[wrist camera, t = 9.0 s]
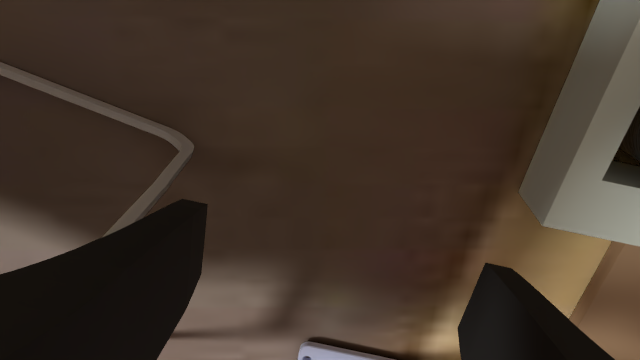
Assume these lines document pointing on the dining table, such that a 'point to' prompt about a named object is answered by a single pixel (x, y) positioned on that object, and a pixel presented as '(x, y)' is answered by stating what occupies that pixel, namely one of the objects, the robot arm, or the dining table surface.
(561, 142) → the port box
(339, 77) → the dining table surface
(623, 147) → the plug
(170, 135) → the chair
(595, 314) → the brown square tile
